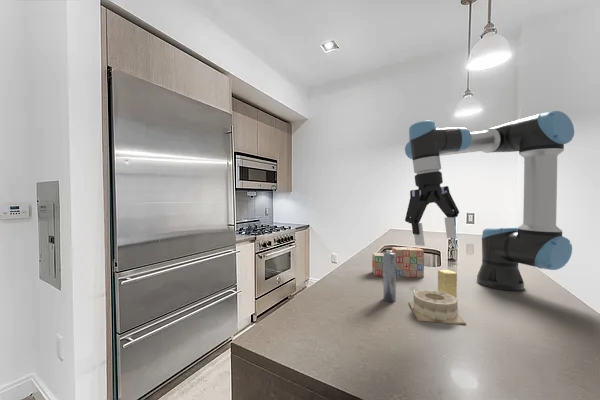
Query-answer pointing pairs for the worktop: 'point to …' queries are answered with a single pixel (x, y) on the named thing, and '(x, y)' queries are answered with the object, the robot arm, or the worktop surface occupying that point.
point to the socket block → (435, 307)
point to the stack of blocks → (401, 262)
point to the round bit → (389, 277)
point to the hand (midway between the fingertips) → (436, 241)
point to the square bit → (447, 282)
